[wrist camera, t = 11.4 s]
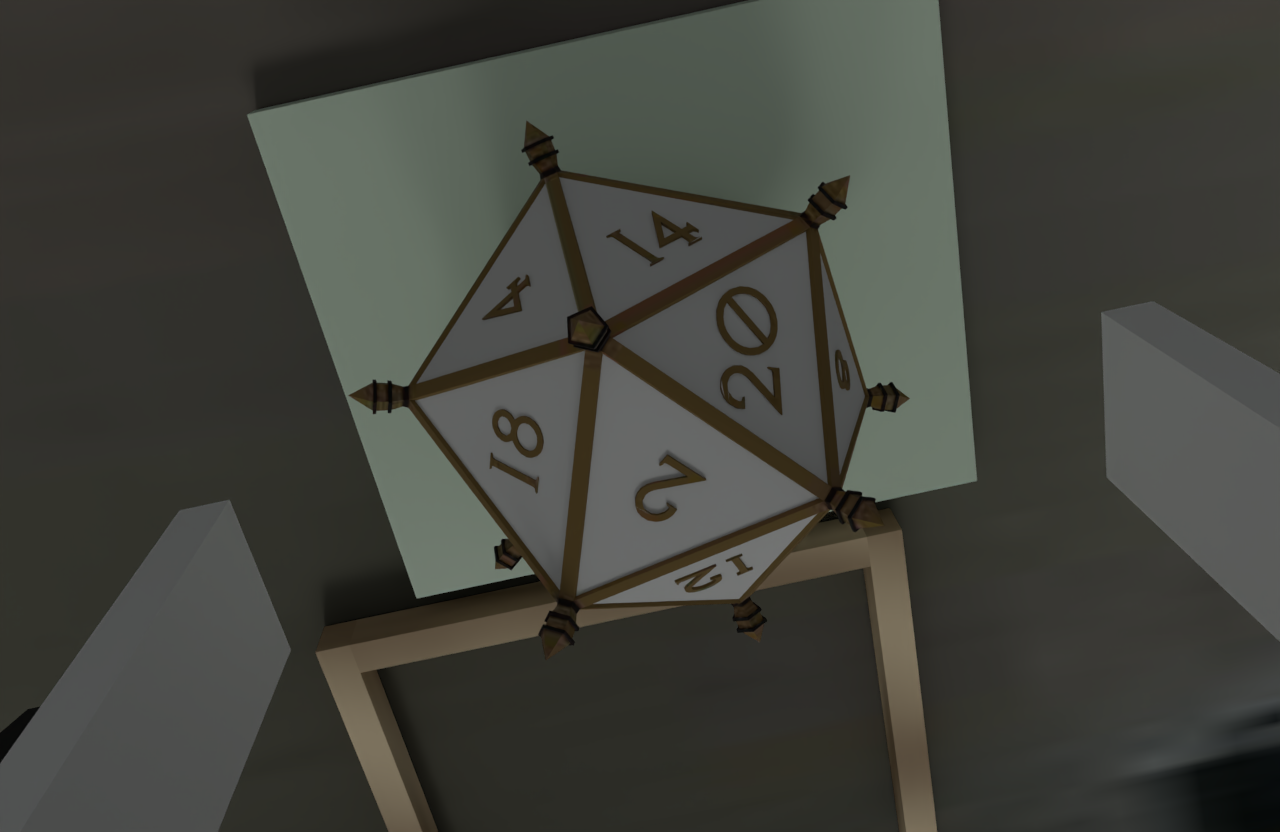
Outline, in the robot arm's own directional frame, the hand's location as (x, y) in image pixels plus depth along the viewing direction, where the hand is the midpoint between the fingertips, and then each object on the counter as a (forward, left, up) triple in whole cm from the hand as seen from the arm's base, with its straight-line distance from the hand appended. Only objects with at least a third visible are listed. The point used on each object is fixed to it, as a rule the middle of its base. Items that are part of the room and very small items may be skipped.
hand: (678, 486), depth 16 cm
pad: (0, 0, -7) cm, 7 cm away
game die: (0, 0, -7) cm, 7 cm away
